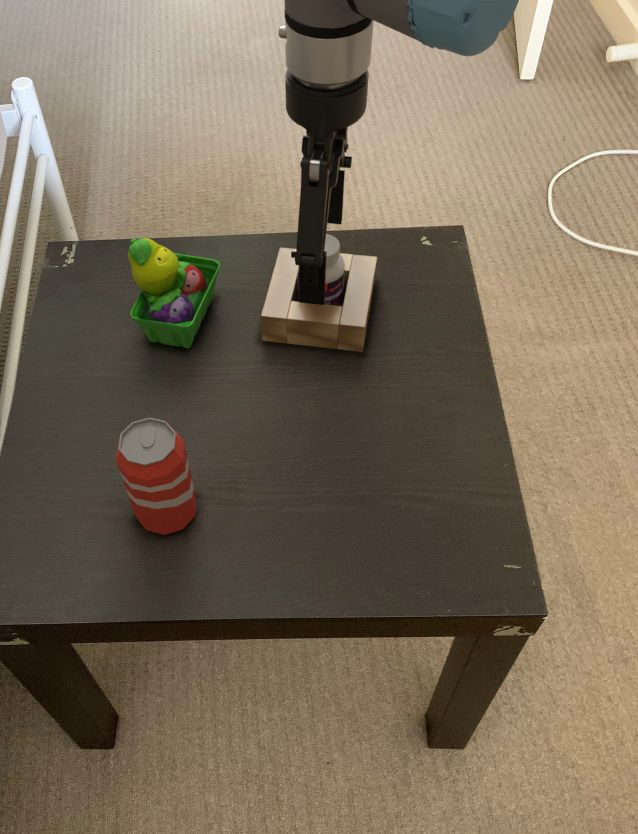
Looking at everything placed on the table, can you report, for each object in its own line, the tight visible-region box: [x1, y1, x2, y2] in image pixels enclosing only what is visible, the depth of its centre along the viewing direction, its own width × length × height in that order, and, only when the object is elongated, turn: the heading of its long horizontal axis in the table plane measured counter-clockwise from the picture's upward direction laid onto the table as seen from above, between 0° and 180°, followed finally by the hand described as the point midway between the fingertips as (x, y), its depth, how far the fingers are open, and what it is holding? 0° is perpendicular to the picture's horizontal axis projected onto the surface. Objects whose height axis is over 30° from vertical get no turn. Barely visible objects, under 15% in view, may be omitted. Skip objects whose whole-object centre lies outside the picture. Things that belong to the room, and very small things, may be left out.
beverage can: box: [115, 417, 197, 536], centre depth 72 cm, size 6×6×12 cm
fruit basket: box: [127, 237, 221, 349], centre depth 87 cm, size 11×9×11 cm
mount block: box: [260, 247, 378, 353], centre depth 90 cm, size 12×12×4 cm
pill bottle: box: [297, 233, 345, 307], centre depth 87 cm, size 5×5×10 cm
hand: (321, 260), depth 85 cm, fingers open, 13 cm apart
